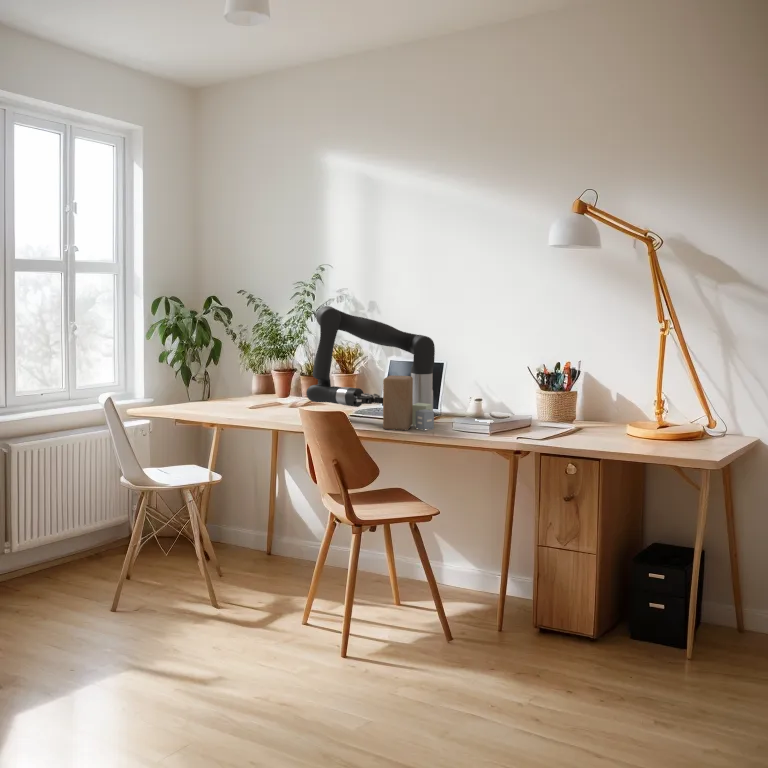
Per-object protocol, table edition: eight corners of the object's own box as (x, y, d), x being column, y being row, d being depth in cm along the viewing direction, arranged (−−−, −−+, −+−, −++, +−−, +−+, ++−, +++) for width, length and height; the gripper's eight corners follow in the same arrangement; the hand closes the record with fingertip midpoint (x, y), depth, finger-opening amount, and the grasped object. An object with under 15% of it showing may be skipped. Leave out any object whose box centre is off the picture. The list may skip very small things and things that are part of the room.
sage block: (417, 422, 343) (417, 402, 342) (431, 423, 340) (432, 404, 339) (411, 424, 337) (411, 405, 336) (425, 426, 335) (426, 406, 334)
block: (407, 430, 325) (408, 379, 322) (382, 429, 327) (382, 378, 325) (412, 426, 335) (413, 375, 332) (388, 424, 337) (388, 375, 334)
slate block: (425, 427, 333) (425, 409, 332) (434, 429, 329) (434, 411, 328) (415, 428, 330) (415, 410, 329) (424, 430, 326) (424, 412, 325)
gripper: (339, 389, 338) (374, 393, 328) (359, 385, 348) (394, 389, 338) (339, 408, 339) (374, 412, 329) (359, 403, 349) (394, 408, 339)
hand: (384, 400), depth 333 cm, fingers closed
